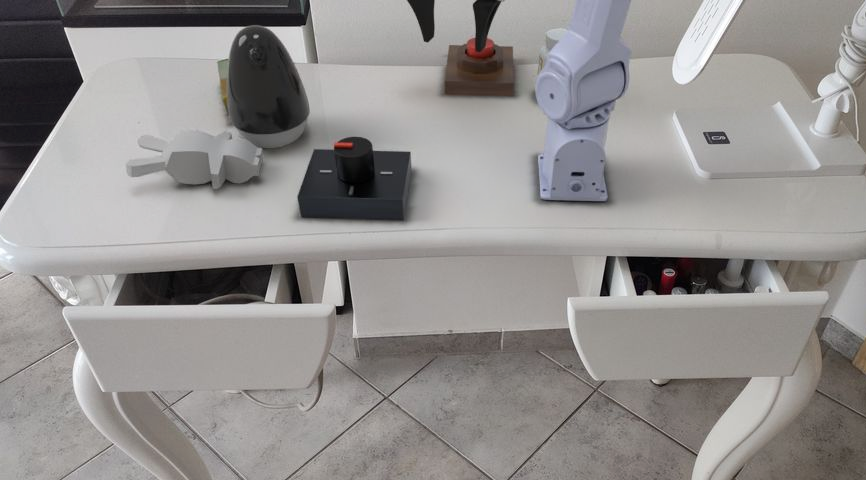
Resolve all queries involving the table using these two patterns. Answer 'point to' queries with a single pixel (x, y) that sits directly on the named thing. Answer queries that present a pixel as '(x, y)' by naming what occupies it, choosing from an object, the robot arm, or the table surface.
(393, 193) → the dial panel
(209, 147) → the bunny figurine
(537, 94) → the robot arm
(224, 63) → the medication box
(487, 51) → the button
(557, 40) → the supplement bottle
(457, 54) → the button box
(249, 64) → the black glossy egg shape
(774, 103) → the table surface
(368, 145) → the dial
